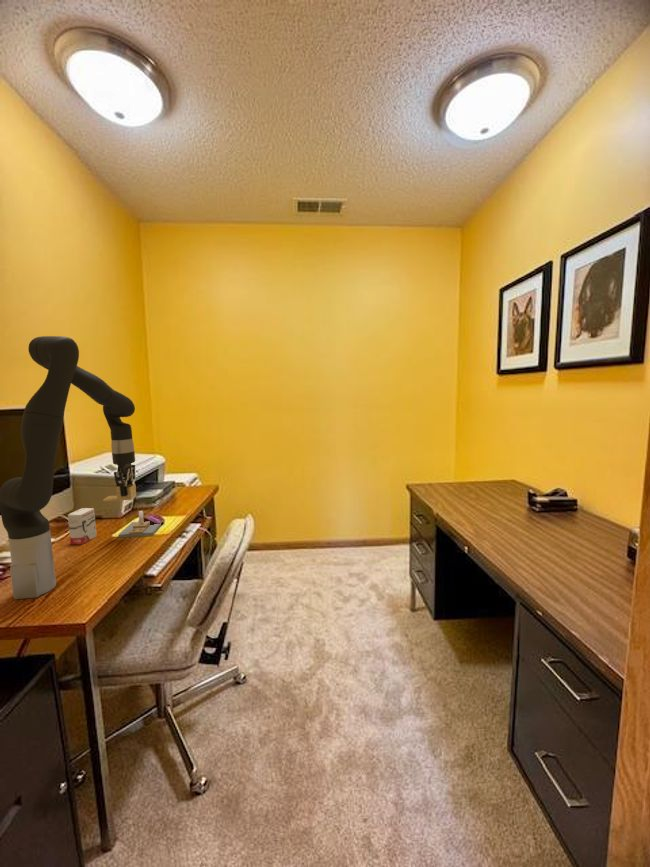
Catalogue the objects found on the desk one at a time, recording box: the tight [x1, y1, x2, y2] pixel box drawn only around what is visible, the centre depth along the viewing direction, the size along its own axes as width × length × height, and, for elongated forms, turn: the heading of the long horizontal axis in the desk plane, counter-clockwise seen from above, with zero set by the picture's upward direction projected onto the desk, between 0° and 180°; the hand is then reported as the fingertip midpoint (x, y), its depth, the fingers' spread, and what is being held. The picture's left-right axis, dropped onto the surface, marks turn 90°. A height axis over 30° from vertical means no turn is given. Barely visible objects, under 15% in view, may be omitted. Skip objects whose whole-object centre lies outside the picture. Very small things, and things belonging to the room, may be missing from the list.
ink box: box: [67, 507, 98, 546], centre depth 139 cm, size 9×5×12 cm, turn 179°
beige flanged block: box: [102, 483, 137, 502], centre depth 139 cm, size 10×5×5 cm, turn 98°
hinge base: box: [117, 510, 165, 539], centre depth 149 cm, size 14×13×8 cm
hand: (127, 493), depth 139 cm, fingers closed on beige flanged block, 5 cm apart
